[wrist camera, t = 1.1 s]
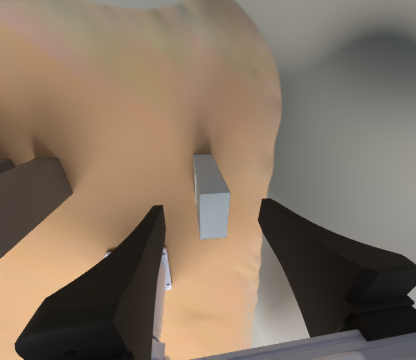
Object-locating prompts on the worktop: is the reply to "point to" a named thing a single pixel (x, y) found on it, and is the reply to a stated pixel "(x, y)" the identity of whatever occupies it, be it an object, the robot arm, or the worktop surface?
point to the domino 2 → (210, 197)
